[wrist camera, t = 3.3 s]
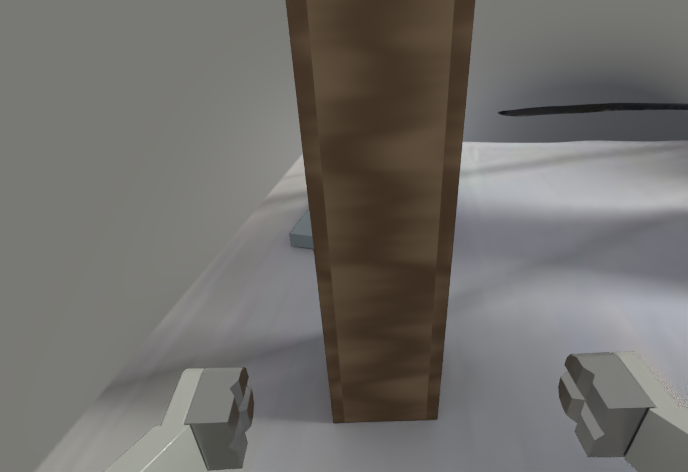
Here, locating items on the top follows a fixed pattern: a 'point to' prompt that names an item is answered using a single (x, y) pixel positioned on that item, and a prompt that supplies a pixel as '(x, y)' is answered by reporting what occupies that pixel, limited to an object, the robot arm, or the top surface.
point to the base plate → (302, 233)
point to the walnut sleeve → (382, 190)
